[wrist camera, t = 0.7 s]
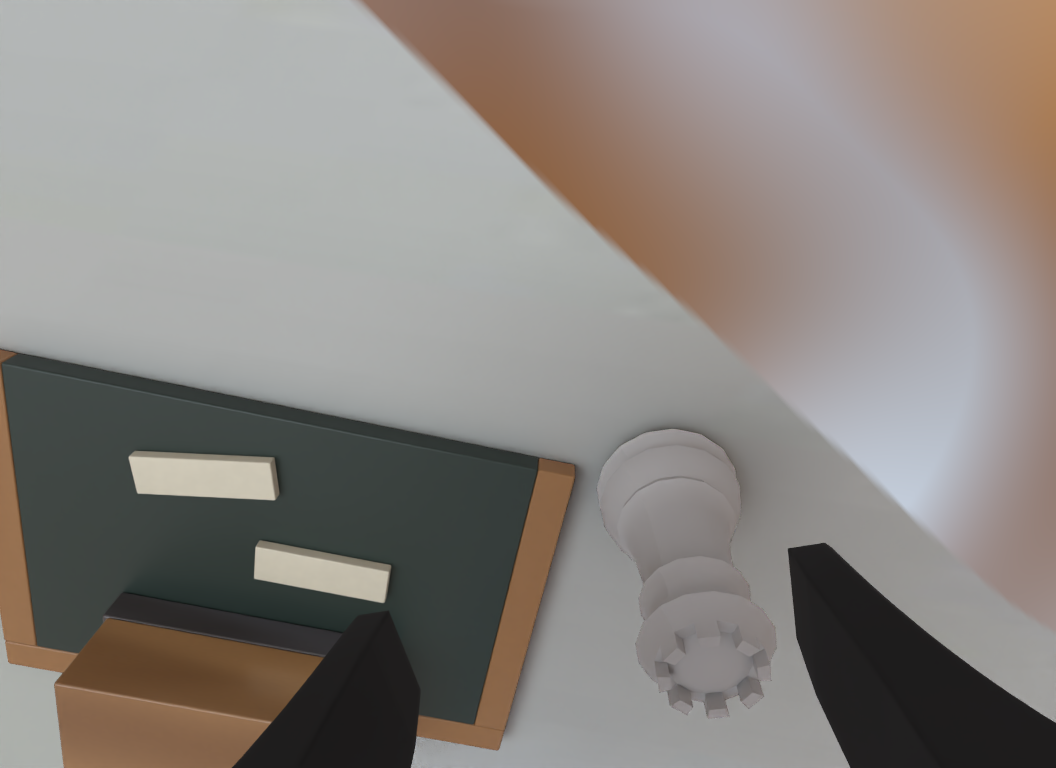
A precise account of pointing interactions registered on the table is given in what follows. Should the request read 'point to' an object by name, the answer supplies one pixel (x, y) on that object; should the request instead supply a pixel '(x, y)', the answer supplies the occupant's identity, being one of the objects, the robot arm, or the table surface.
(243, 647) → the duster
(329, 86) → the table surface
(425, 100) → the table surface
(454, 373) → the table surface
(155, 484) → the chalk mark
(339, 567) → the chalk mark
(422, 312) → the table surface
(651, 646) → the rook chess piece
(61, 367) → the chalkboard
